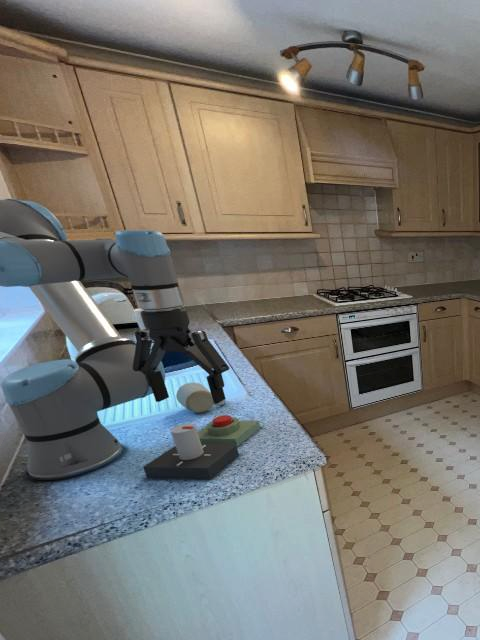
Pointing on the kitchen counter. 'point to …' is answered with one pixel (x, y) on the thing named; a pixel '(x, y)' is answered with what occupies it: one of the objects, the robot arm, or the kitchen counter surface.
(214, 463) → the panel
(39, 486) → the kitchen counter surface
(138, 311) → the drinking glass
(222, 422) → the power button
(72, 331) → the robot arm
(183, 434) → the timer dial
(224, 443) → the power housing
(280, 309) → the kitchen counter surface
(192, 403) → the ceramic mug
